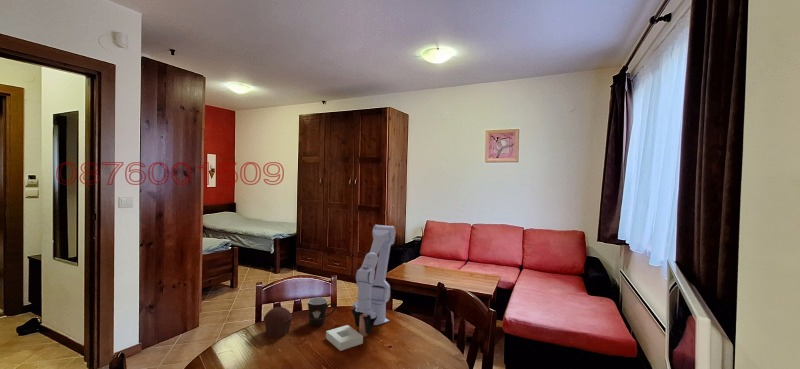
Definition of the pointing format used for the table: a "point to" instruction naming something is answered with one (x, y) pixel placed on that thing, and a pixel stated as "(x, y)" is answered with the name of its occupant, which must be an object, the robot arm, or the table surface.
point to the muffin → (277, 322)
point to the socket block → (344, 337)
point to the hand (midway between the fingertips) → (363, 329)
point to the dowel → (362, 325)
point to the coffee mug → (318, 311)
